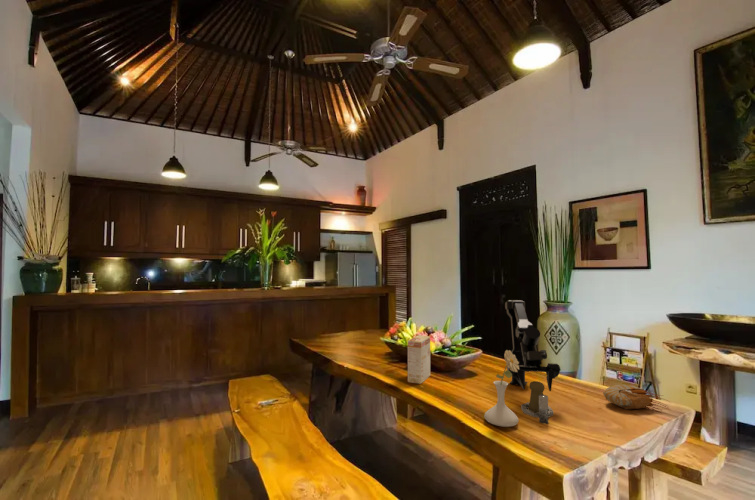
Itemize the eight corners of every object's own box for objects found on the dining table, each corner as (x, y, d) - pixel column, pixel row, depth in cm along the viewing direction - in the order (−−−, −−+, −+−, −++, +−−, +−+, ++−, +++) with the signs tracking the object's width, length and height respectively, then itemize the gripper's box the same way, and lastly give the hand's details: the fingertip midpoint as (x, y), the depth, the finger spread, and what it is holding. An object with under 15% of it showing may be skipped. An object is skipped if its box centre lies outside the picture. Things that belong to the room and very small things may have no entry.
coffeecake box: (417, 373, 184) (417, 334, 185) (431, 375, 181) (430, 336, 182) (406, 382, 171) (406, 340, 172) (421, 384, 168) (421, 341, 169)
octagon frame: (519, 405, 142) (519, 382, 143) (547, 407, 140) (547, 384, 141) (529, 422, 127) (528, 396, 127) (560, 425, 125) (560, 398, 125)
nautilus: (670, 410, 140) (671, 425, 128) (604, 394, 153) (600, 407, 141) (671, 390, 140) (673, 403, 128) (605, 376, 153) (601, 387, 141)
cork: (548, 411, 137) (547, 382, 137) (543, 416, 132) (542, 386, 133) (531, 407, 141) (531, 378, 141) (526, 412, 136) (525, 382, 137)
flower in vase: (500, 432, 119) (499, 355, 120) (477, 419, 129) (476, 348, 131) (529, 426, 124) (528, 352, 125) (505, 413, 135) (505, 345, 136)
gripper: (508, 340, 143) (514, 377, 132) (558, 342, 140) (569, 380, 129) (504, 356, 151) (510, 392, 139) (552, 358, 148) (562, 395, 136)
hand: (537, 389), depth 136 cm, fingers open, 9 cm apart
